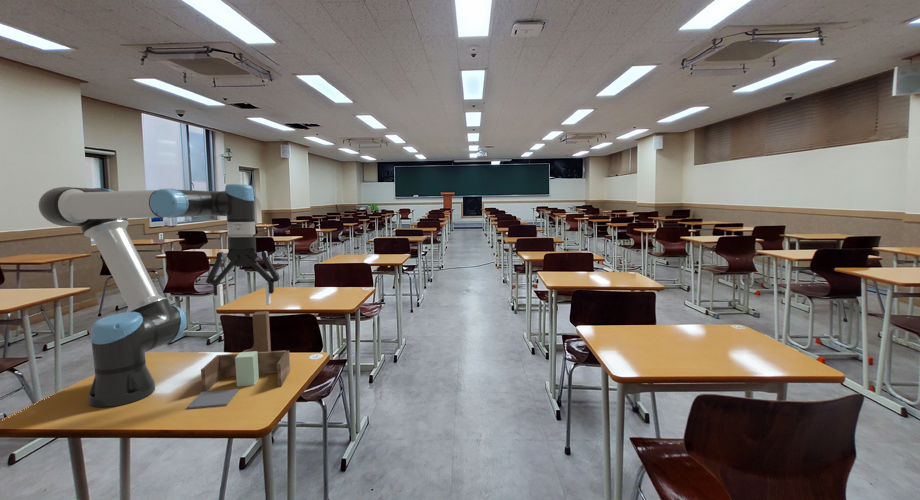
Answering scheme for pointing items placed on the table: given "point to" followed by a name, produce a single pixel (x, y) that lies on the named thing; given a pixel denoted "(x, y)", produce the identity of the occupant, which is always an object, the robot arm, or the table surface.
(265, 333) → the wooden block
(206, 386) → the cubby
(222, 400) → the mat
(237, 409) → the table surface
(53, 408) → the table surface
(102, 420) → the table surface
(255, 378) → the block
